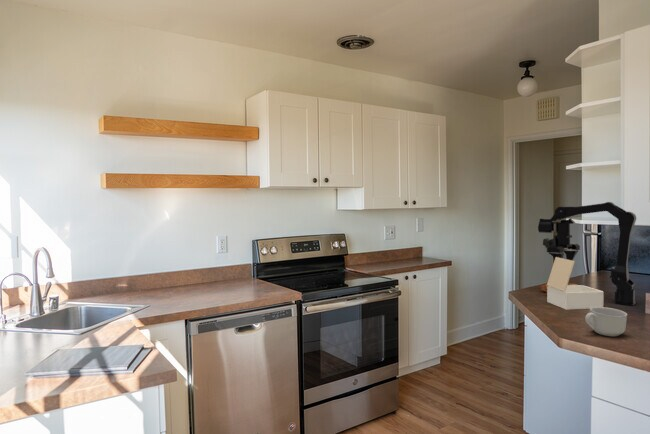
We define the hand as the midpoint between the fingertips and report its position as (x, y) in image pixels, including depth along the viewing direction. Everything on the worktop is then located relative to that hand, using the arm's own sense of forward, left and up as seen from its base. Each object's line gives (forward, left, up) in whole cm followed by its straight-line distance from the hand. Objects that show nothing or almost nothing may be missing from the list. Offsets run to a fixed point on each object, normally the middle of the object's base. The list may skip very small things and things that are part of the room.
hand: (563, 266), depth 210 cm
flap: (-6, +20, 0) cm, 21 cm away
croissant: (+2, -6, -14) cm, 16 cm away
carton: (-9, +15, -14) cm, 23 cm away
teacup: (-30, +53, -14) cm, 62 cm away
